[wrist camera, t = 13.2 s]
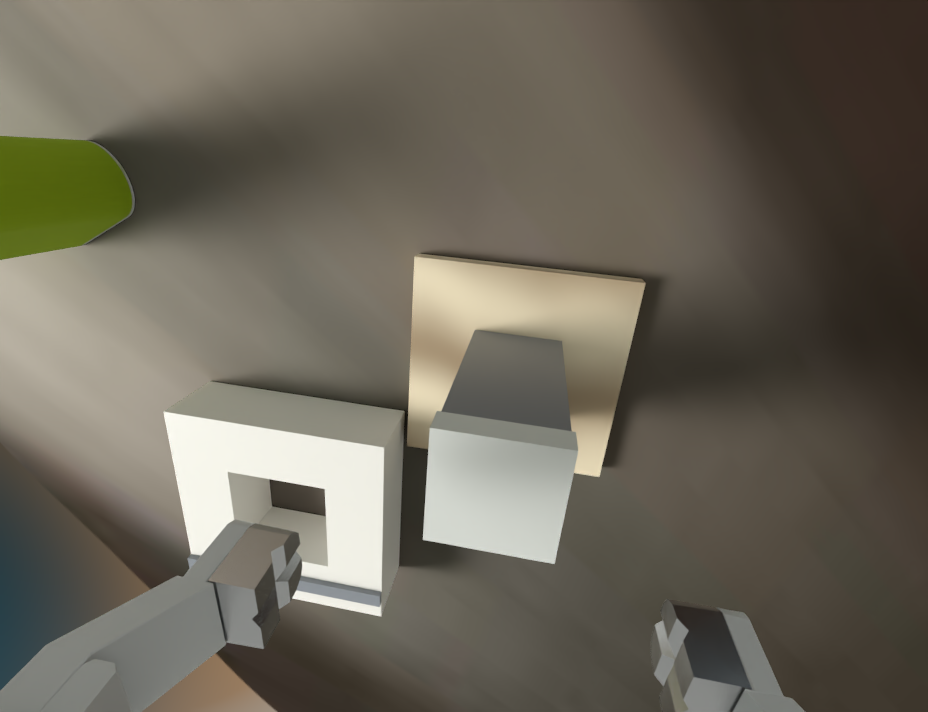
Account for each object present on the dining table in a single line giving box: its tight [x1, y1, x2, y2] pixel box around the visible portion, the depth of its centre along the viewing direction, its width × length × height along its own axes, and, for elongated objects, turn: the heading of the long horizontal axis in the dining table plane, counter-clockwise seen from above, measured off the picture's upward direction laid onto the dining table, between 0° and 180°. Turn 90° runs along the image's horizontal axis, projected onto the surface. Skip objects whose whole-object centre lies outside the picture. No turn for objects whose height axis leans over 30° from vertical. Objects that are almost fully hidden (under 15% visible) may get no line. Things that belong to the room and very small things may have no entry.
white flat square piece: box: [164, 381, 405, 616], centre depth 26 cm, size 11×11×4 cm
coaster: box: [407, 254, 646, 477], centre depth 22 cm, size 10×10×1 cm
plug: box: [423, 330, 578, 564], centre depth 18 cm, size 4×4×9 cm
